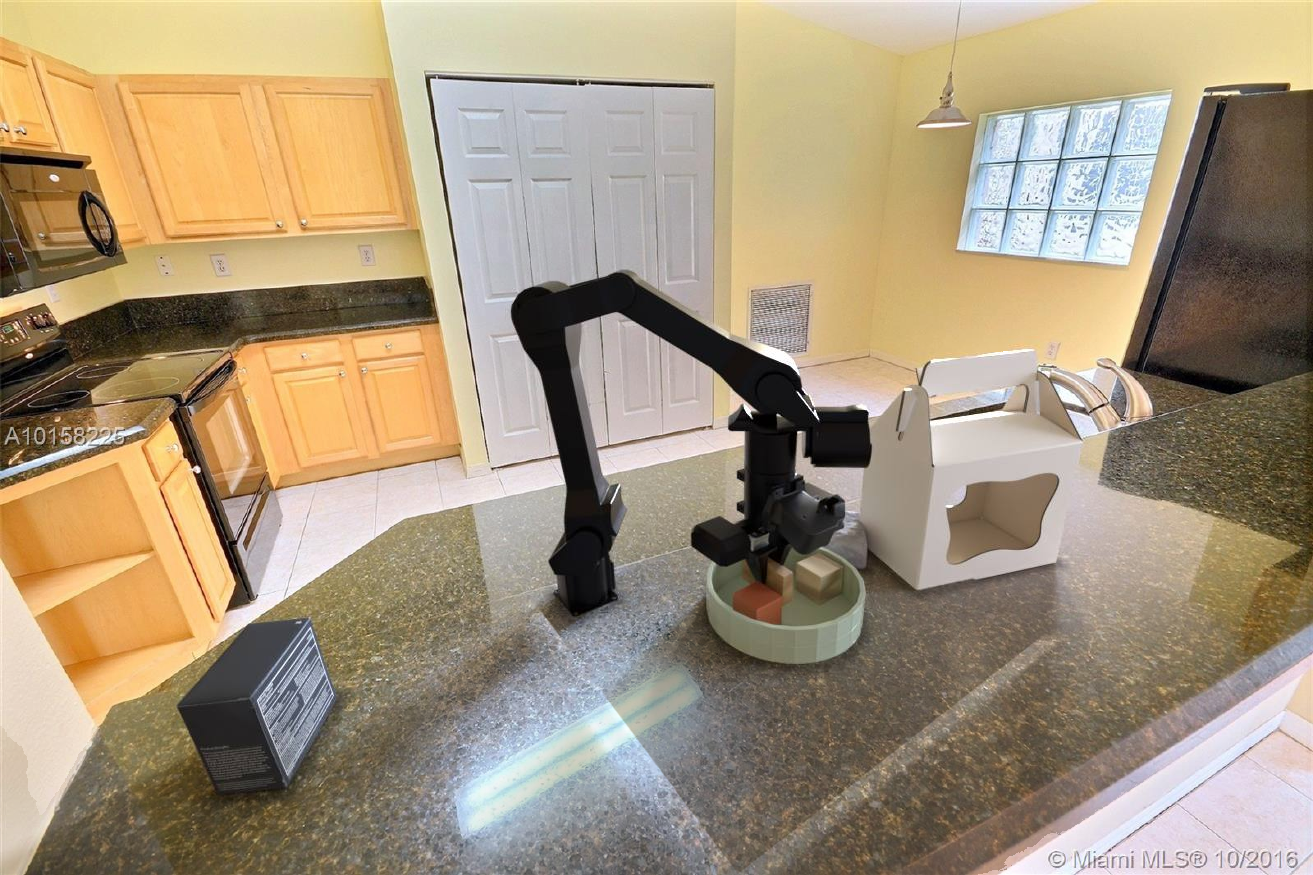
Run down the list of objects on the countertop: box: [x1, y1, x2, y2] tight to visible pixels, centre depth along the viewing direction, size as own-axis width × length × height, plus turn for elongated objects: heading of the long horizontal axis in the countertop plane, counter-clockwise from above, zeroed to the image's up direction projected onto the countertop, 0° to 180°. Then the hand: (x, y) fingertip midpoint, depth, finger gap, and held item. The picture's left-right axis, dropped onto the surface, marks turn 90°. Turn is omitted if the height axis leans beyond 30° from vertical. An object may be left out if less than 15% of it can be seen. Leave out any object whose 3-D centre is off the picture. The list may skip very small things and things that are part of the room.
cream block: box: [795, 553, 844, 605], centre depth 72 cm, size 4×4×4 cm
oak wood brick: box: [743, 557, 793, 606], centre depth 70 cm, size 2×7×4 cm, turn 33°
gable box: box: [859, 349, 1084, 591], centre depth 76 cm, size 22×13×28 cm, turn 105°
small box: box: [175, 616, 339, 796], centre depth 53 cm, size 11×6×10 cm, turn 5°
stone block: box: [822, 509, 868, 570], centre depth 82 cm, size 12×5×10 cm
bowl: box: [705, 547, 867, 665], centre depth 69 cm, size 18×18×5 cm
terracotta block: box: [733, 581, 782, 625], centre depth 67 cm, size 4×4×4 cm
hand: (766, 582), depth 70 cm, fingers closed on oak wood brick, 2 cm apart
